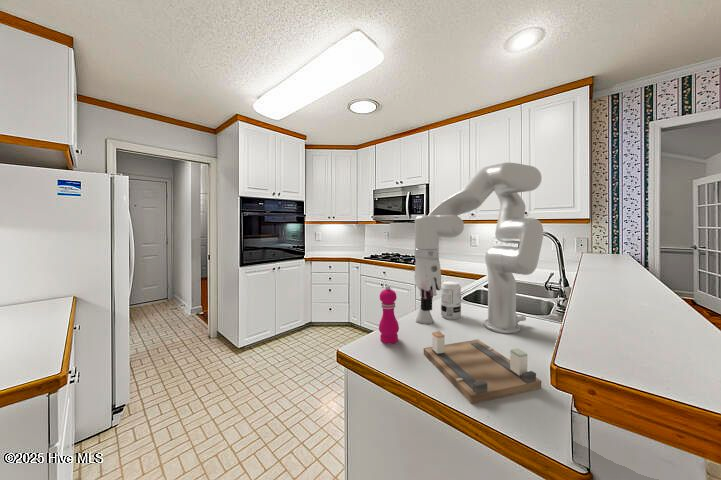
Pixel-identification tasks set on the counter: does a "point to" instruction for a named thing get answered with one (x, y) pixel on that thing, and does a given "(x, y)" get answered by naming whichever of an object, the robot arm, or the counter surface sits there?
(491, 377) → the wooden board
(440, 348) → the terracotta-capped tab
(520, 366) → the sage-capped tab
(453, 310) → the supplement can
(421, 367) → the counter surface
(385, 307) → the pepper mill
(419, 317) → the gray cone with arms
